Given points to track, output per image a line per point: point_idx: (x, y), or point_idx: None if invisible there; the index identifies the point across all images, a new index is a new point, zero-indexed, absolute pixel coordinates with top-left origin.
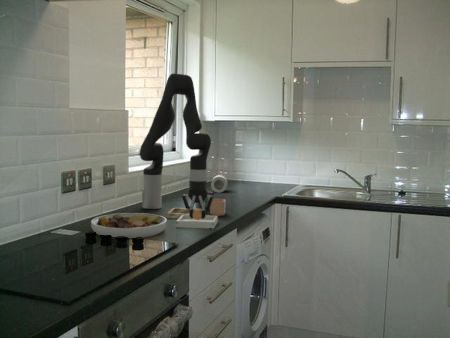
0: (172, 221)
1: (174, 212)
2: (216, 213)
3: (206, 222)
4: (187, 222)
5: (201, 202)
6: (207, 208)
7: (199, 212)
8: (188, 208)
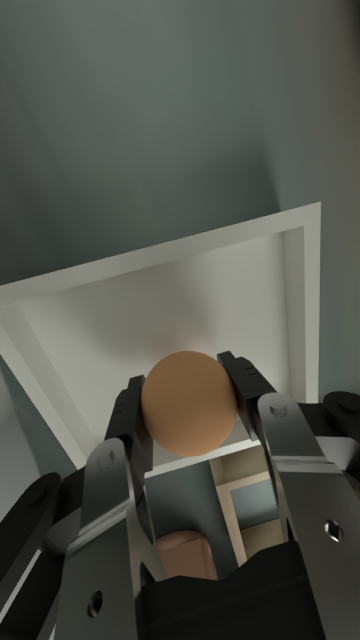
0: (337, 357)
1: (358, 493)
2: (173, 547)
3: (36, 277)
4: (213, 230)
5: (99, 618)
6: (44, 484)
7: (158, 400)
8: (310, 408)
